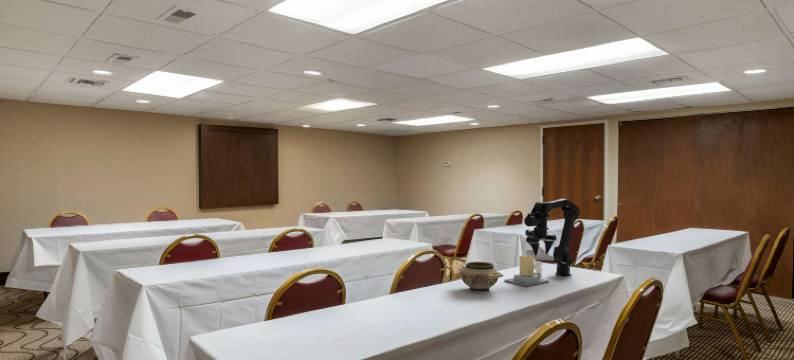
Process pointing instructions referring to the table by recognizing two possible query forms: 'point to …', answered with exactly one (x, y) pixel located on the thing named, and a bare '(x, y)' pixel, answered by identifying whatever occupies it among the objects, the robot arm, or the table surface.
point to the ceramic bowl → (479, 276)
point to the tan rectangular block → (527, 266)
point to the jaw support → (538, 267)
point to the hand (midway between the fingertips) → (541, 254)
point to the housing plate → (526, 280)
